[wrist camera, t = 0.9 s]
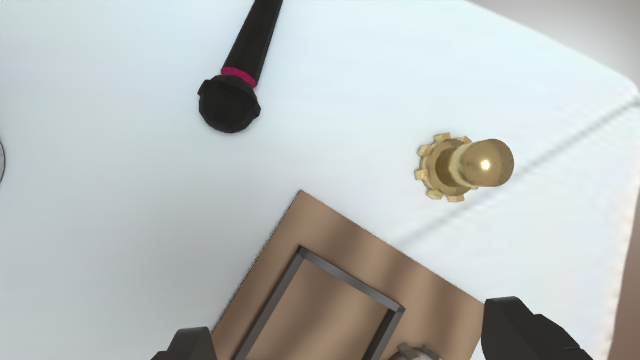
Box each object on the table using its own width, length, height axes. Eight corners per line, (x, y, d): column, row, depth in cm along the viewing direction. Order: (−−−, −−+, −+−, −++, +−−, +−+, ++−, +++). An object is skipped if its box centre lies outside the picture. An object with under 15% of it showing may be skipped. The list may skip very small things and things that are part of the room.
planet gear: (402, 178, 35) (442, 175, 28) (434, 122, 36) (480, 104, 29) (455, 214, 37) (506, 220, 29) (484, 158, 38) (541, 150, 30)
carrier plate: (177, 389, 30) (166, 419, 26) (300, 190, 33) (306, 189, 29) (396, 492, 34) (415, 531, 30) (487, 307, 37) (514, 320, 33)
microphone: (267, -24, 36) (203, 134, 32) (255, -76, 31) (175, 107, 26) (313, -15, 36) (255, 147, 31) (309, -66, 30) (237, 123, 26)
